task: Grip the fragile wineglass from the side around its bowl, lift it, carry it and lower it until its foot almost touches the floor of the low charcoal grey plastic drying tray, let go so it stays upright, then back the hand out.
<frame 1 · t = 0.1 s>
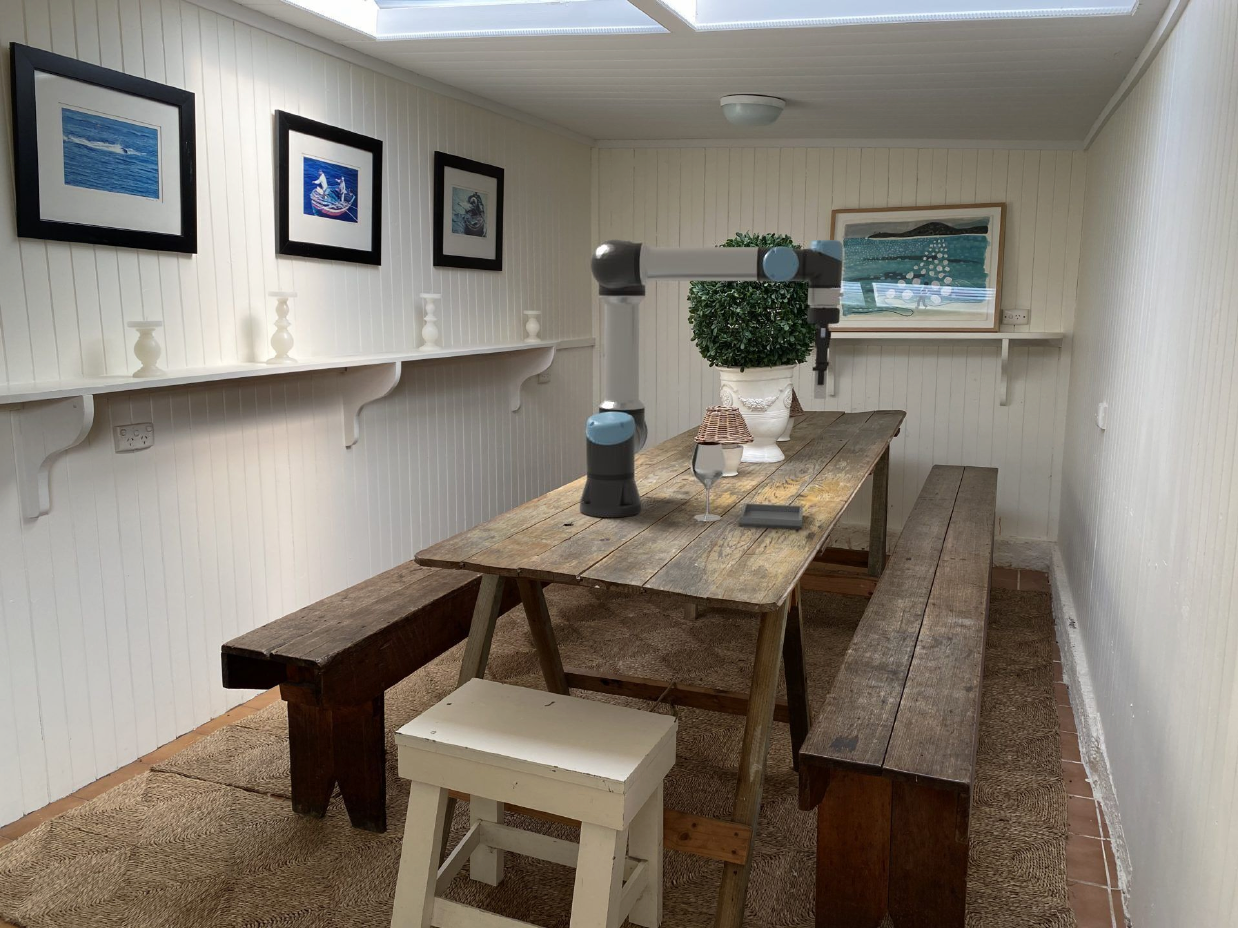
hand: (819, 395, 231), 28 cm above the table, tool pointing down, fingers open, 13 cm apart
wineglass: (707, 519, 225), on the table
drying tray: (771, 520, 223), on the table
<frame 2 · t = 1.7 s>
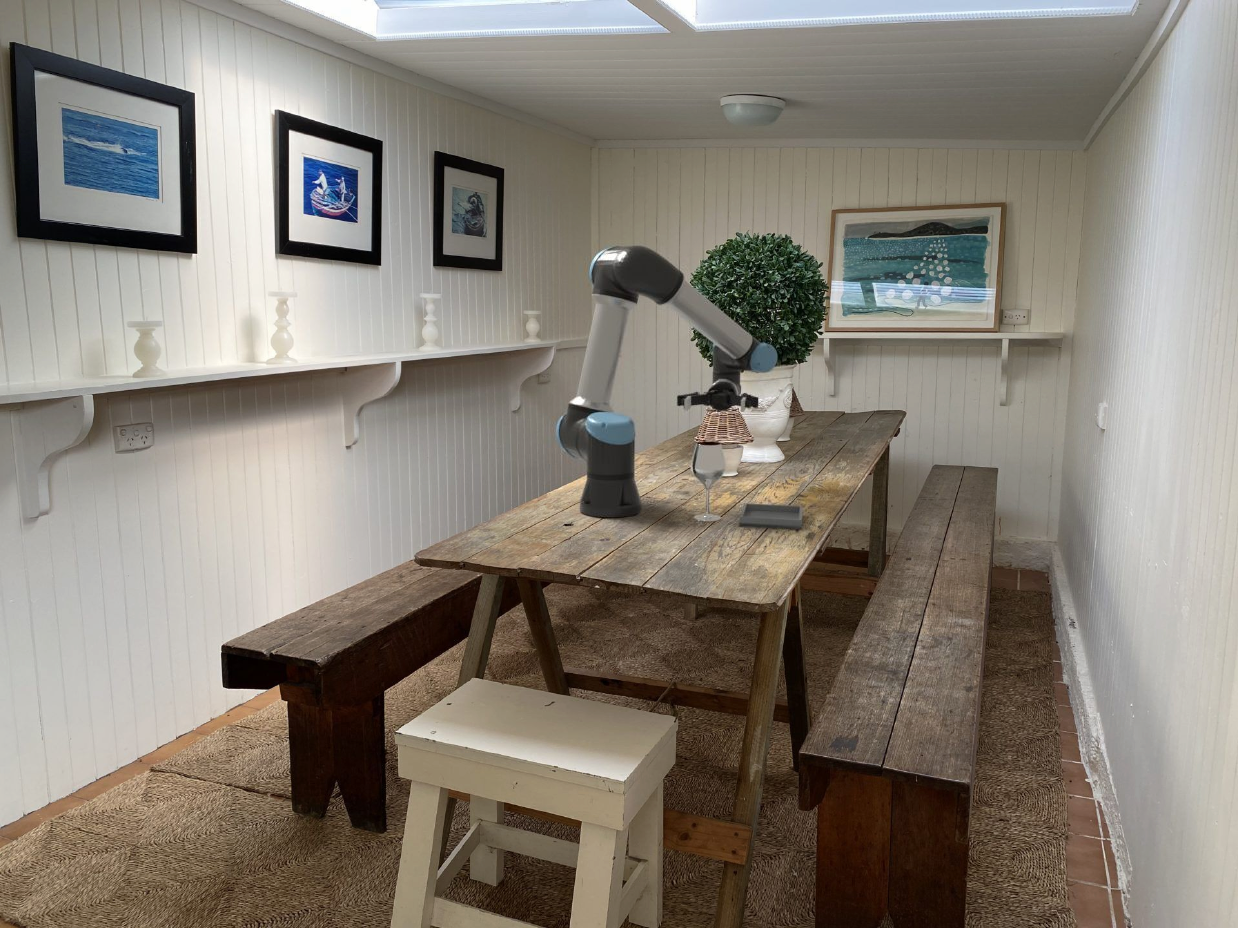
hand: (714, 405, 230), 26 cm above the table, tool horizontal, fingers open, 13 cm apart
nothing on the table moved.
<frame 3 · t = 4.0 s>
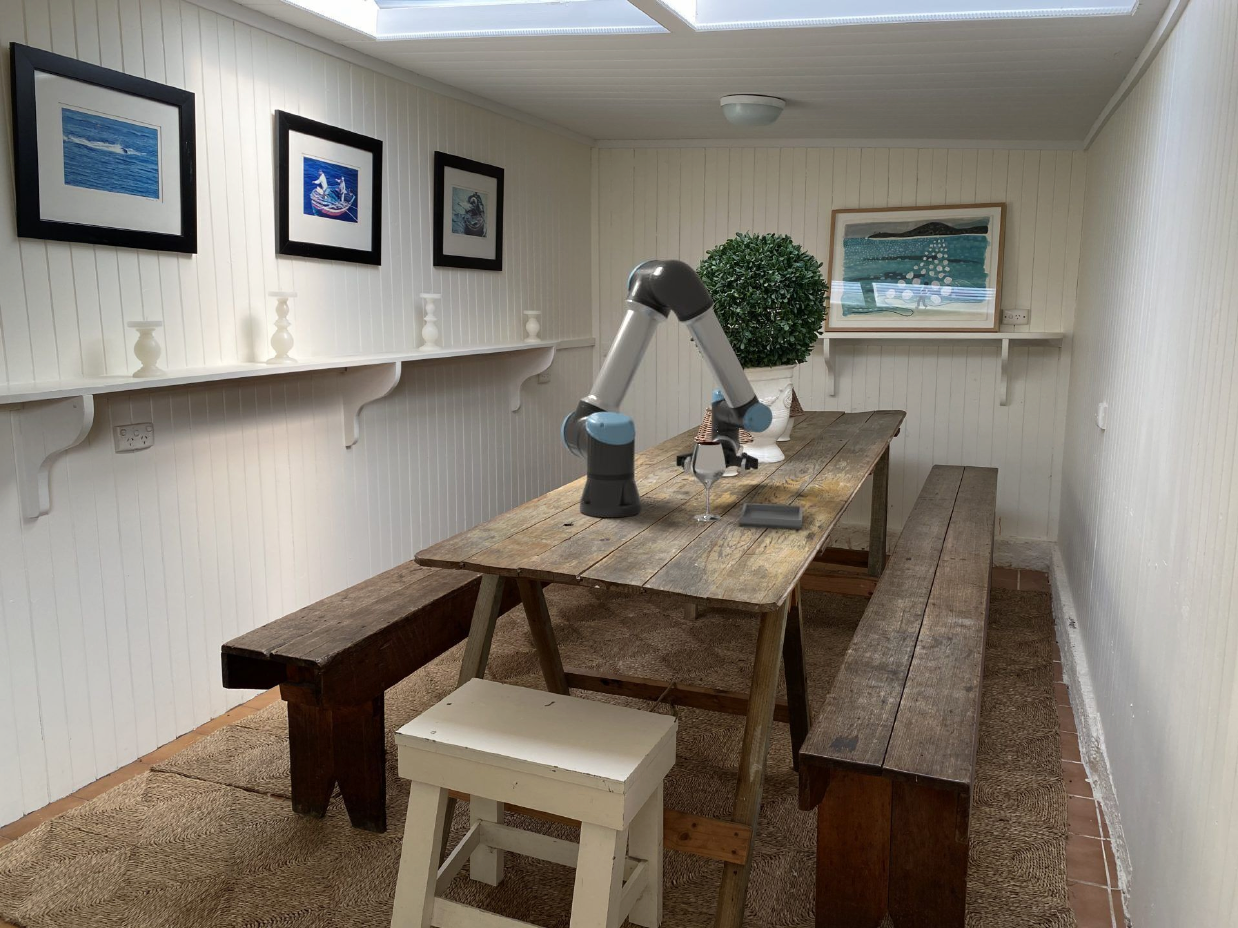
hand: (714, 468, 229), 11 cm above the table, tool horizontal, fingers open, 13 cm apart
nothing on the table moved.
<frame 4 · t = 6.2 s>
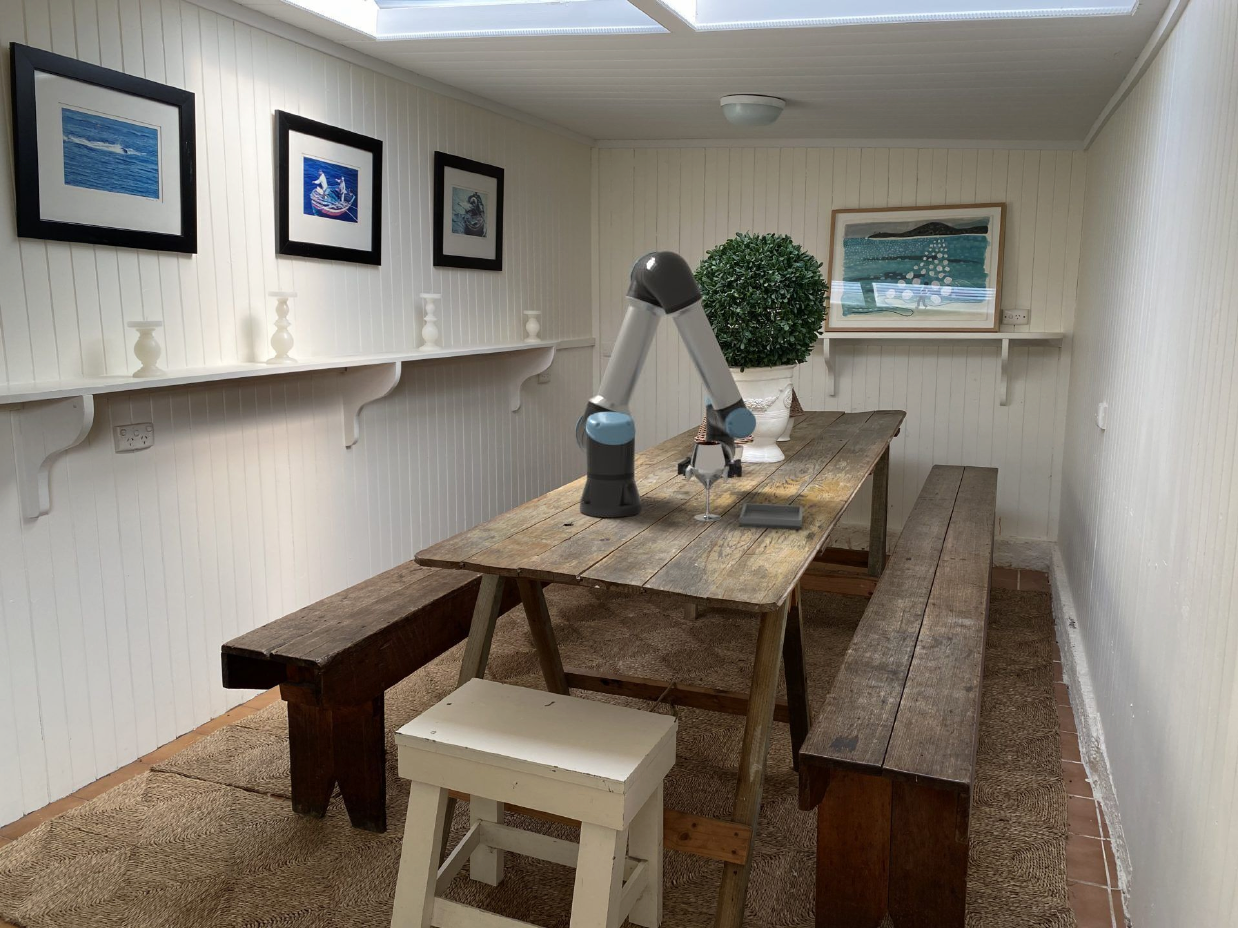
hand: (705, 476, 219), 11 cm above the table, tool horizontal, fingers closed on wineglass, 8 cm apart
wineglass: (707, 519, 225), on the table, touching gripper
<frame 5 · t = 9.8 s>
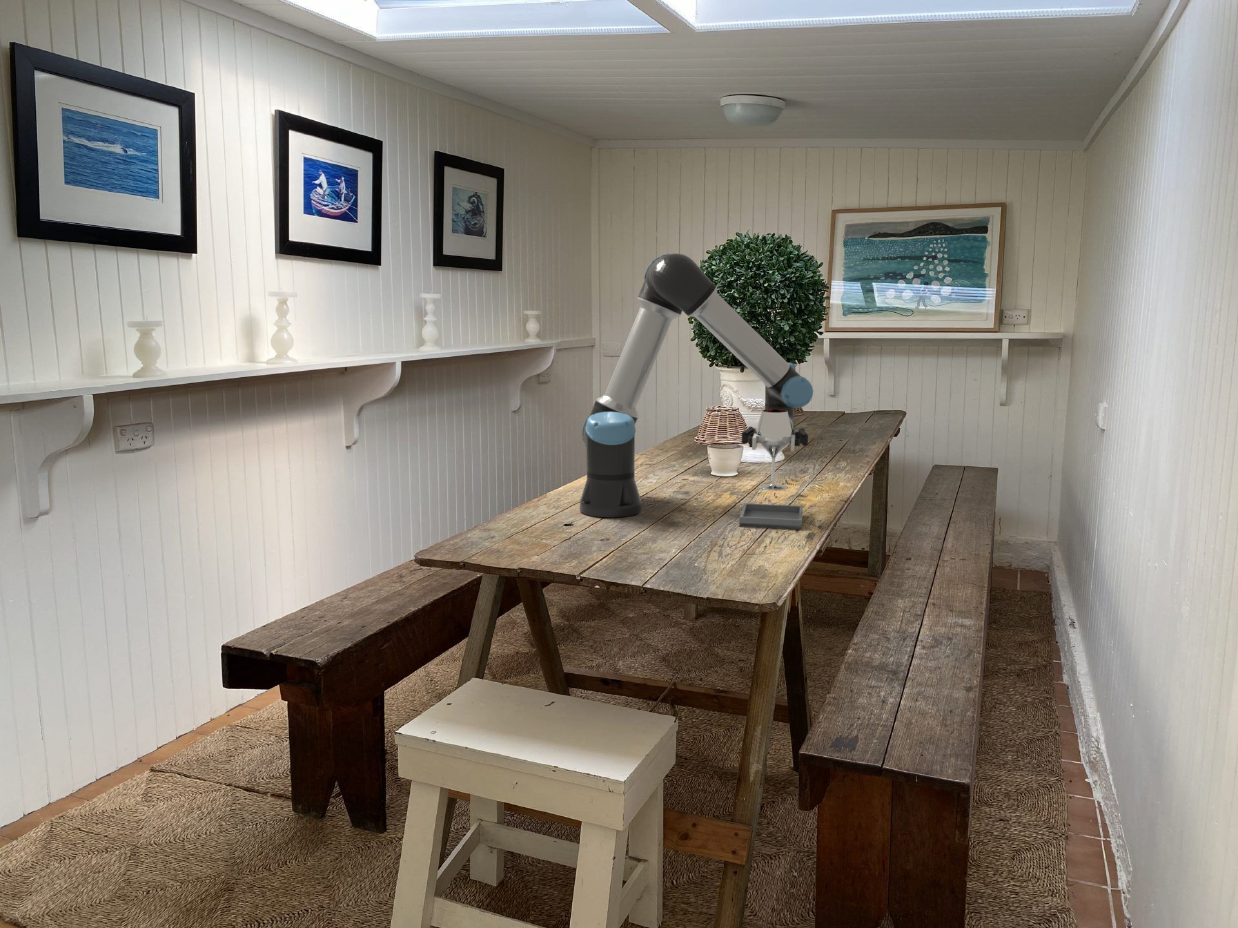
hand: (773, 444, 215), 19 cm above the table, tool horizontal, fingers closed on wineglass, 8 cm apart
wineglass: (772, 488, 222), point 8 cm above the table, touching gripper
when the fingers open (12 cm above the table, at t = 13.2 s): wineglass stays where it is, resting on drying tray.
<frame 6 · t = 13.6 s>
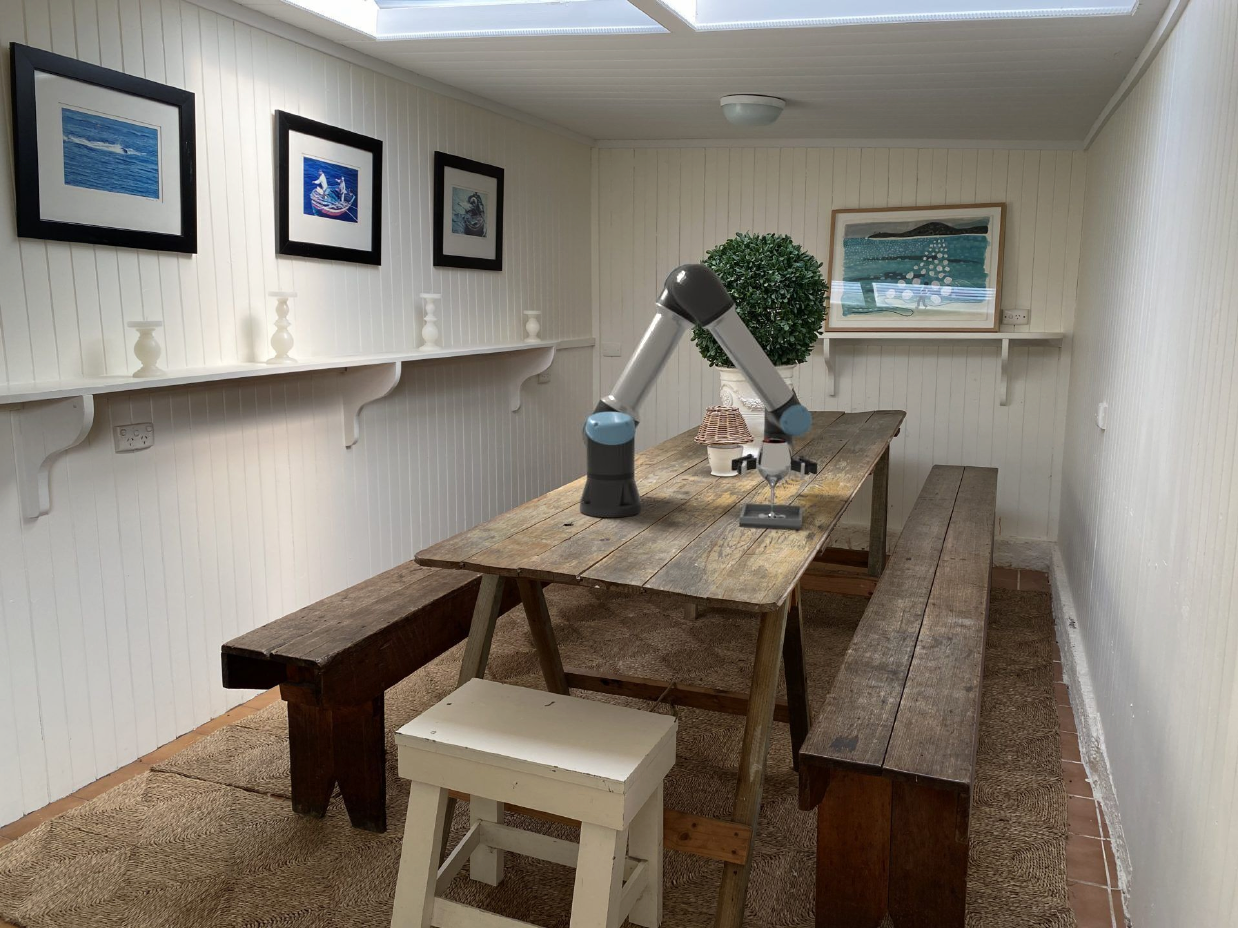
hand: (772, 473, 218), 12 cm above the table, tool horizontal, fingers open, 13 cm apart
wineglass: (771, 517, 223), point 1 cm above the table, touching drying tray
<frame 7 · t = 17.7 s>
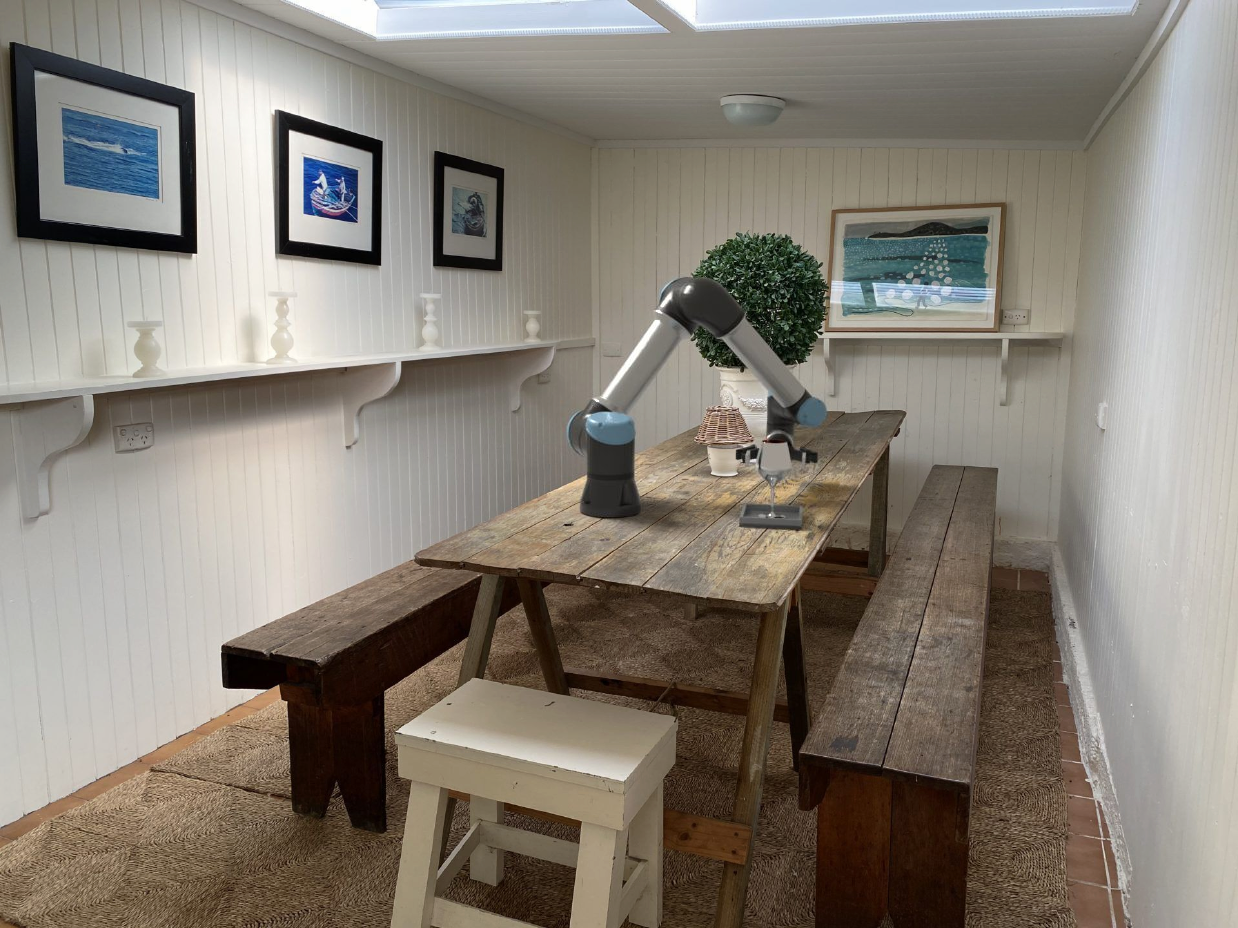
hand: (775, 461, 230), 12 cm above the table, tool horizontal, fingers open, 13 cm apart
nothing on the table moved.
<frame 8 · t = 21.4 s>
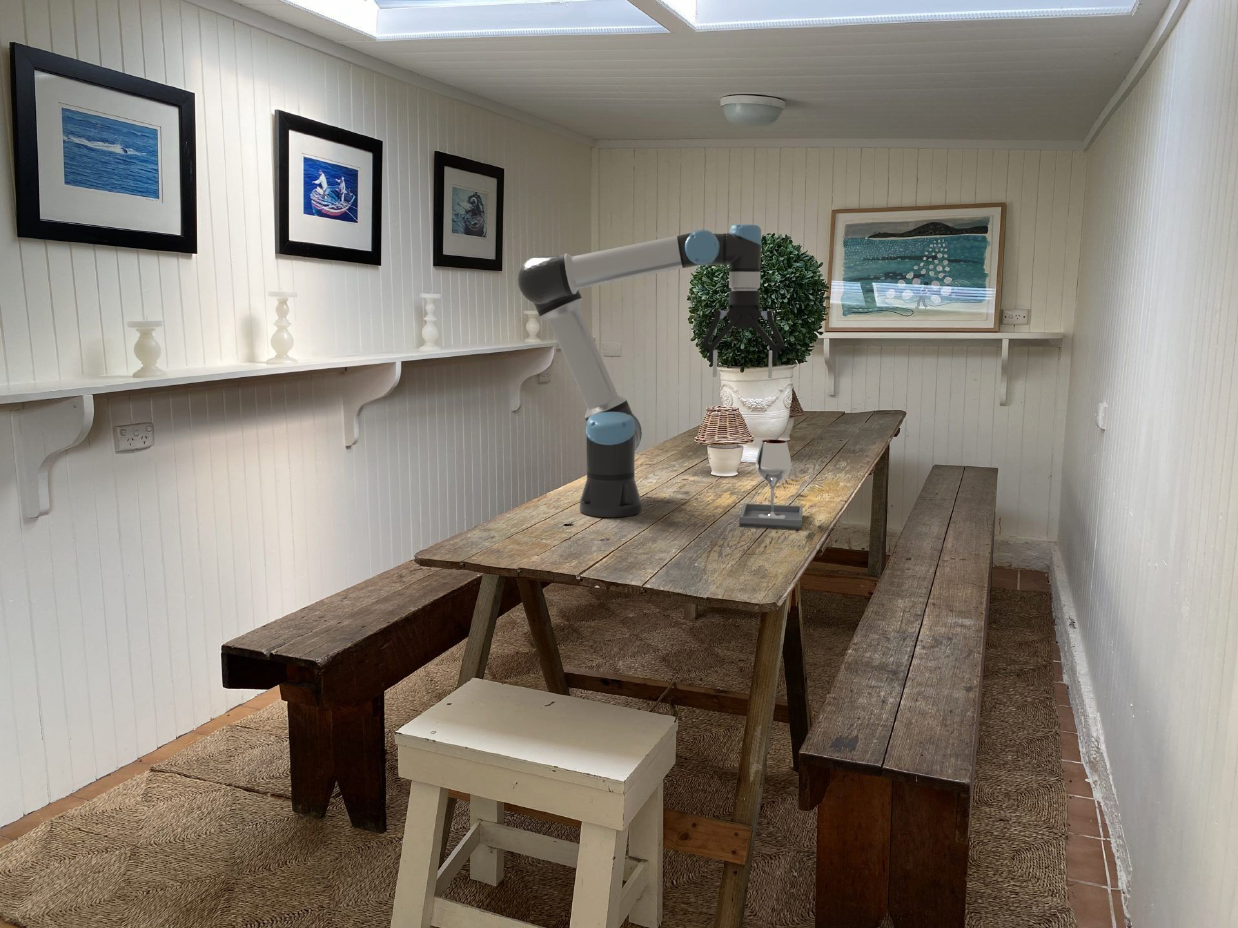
hand: (742, 377, 236), 32 cm above the table, tool pointing down, fingers open, 13 cm apart
nothing on the table moved.
at the end: wineglass inside the target area on the drying tray (0.0 cm from its centre), point 0.6 cm above the drying tray's base; wineglass tilted 0°; the gripper is holding nothing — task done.
